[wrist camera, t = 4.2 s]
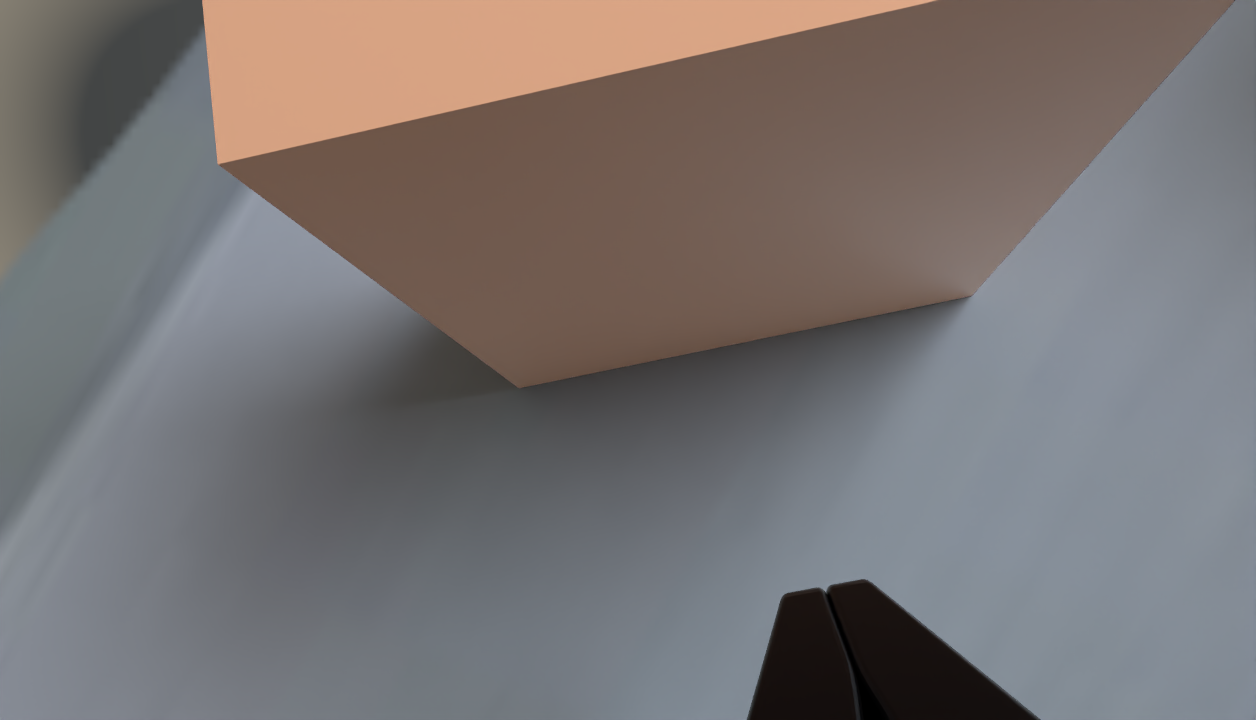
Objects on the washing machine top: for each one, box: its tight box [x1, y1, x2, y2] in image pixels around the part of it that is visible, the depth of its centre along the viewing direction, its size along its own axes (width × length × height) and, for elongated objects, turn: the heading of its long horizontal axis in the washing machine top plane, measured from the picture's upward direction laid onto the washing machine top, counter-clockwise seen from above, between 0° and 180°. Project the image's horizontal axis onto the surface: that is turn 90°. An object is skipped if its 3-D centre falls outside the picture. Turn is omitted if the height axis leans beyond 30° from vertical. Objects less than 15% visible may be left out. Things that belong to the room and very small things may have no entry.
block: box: [202, 0, 1235, 388], centre depth 12 cm, size 3×8×10 cm, turn 100°
